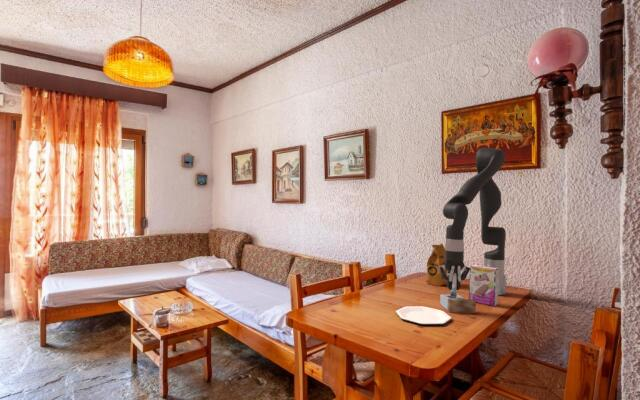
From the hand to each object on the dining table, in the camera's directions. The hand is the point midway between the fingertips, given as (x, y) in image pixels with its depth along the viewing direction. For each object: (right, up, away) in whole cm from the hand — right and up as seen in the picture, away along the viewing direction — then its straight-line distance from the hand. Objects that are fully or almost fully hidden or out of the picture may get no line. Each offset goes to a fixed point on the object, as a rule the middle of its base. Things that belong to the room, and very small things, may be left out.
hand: (453, 289), depth 147 cm
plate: (-17, -8, -12) cm, 22 cm away
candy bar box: (+17, -8, +8) cm, 20 cm away
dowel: (0, -3, 0) cm, 3 cm away
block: (0, -8, 0) cm, 8 cm away
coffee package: (+7, -8, +43) cm, 44 cm away
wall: (+1, -8, -5) cm, 9 cm away
